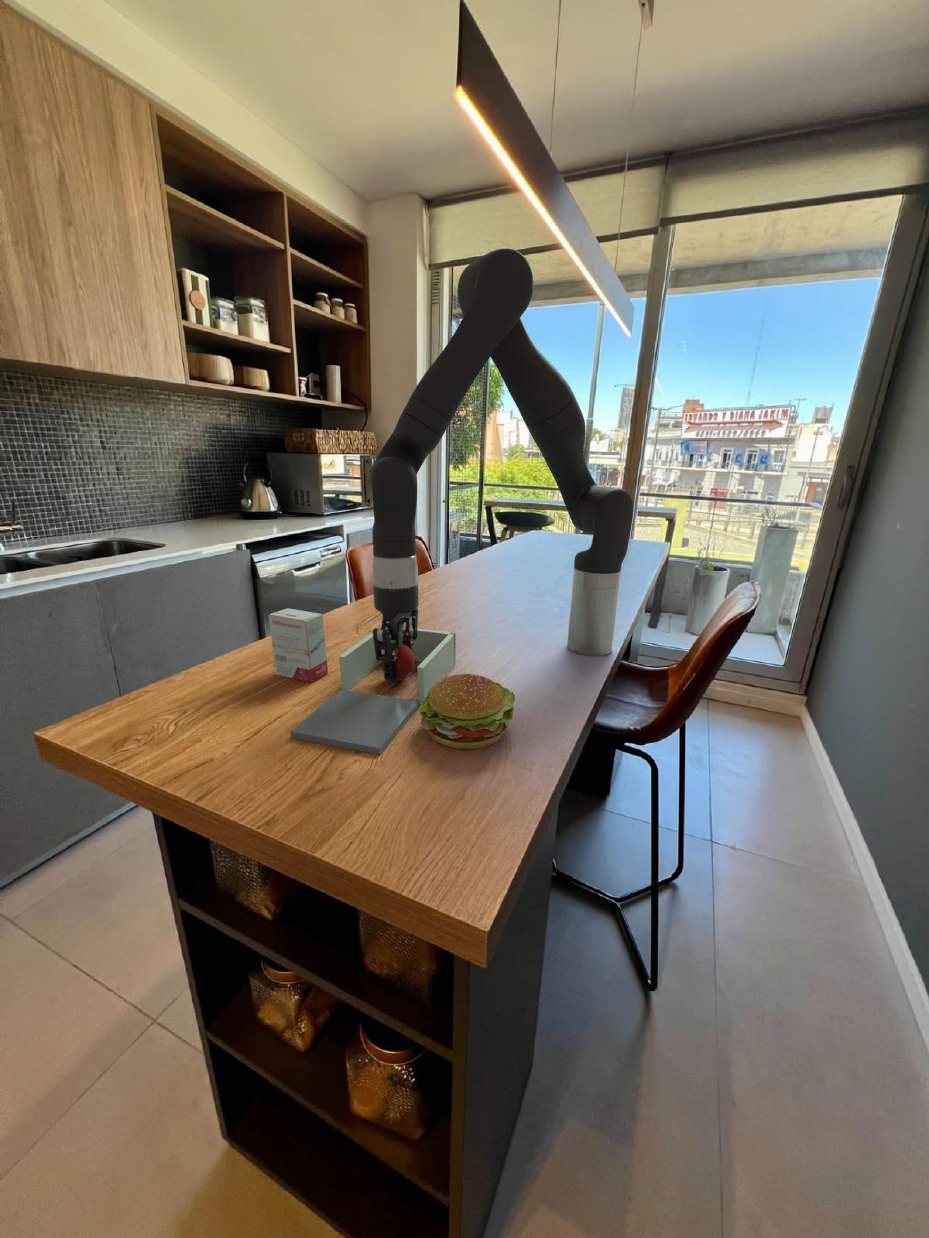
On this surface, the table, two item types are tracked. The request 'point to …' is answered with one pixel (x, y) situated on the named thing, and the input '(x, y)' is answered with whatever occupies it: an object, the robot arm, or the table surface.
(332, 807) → the table surface
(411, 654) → the onion
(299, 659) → the ink box
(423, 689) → the cubby
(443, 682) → the food
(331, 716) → the tile
